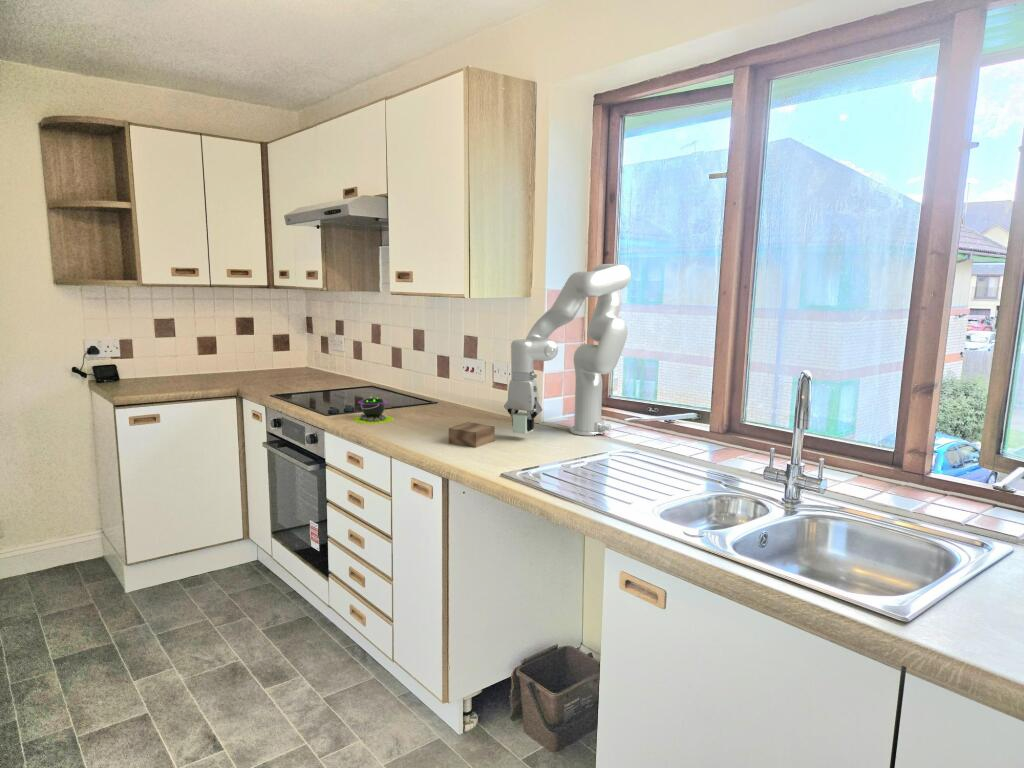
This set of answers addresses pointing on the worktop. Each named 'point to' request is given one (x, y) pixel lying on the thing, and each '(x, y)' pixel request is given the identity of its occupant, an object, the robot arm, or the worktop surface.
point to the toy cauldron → (373, 411)
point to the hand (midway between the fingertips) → (523, 428)
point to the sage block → (520, 423)
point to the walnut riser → (471, 434)
